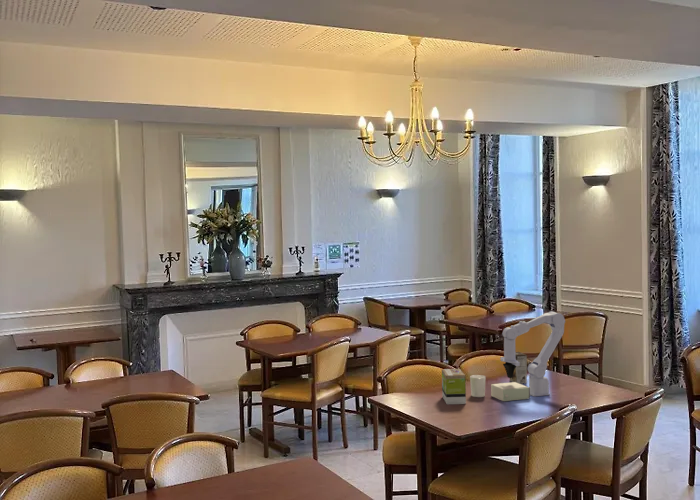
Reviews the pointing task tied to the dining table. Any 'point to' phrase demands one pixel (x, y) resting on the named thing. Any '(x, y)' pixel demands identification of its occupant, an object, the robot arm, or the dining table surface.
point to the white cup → (477, 385)
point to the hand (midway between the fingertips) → (510, 377)
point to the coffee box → (520, 369)
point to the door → (516, 394)
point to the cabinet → (498, 389)
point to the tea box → (453, 386)
